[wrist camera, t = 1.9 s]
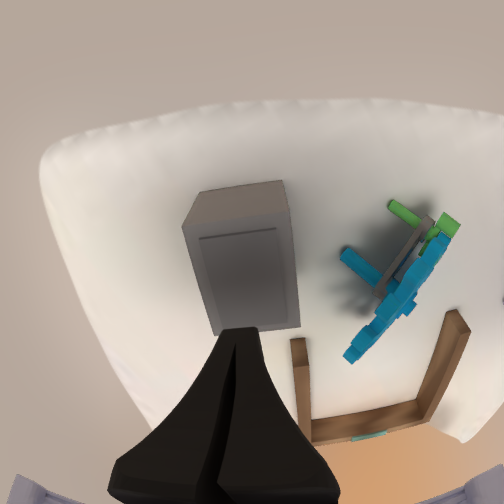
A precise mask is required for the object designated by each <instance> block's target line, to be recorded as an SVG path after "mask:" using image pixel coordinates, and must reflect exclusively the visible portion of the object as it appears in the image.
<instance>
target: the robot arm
mask: <svg viewBox="0 0 504 504" xmlns="http://www.w3.org/2000/svg"><path fill="white" fill-rule="evenodd" d="M503 304H504V303H503ZM107 491H108V492H109V494H110V495H111V496H112V497H114V498H115V499H117V500H119V501H121V502H122V503H124V504H338V498H339V496H340V487H339V485H338V482H337V480H336V479H335V476H334V475H333V473H332V471H331V470H330V468H329V467H328V465H327V462H326V461H325V460H324V458H323V457H322V456H321V455H320V454H319V453H318V452H317V450H316V449H315V448H314V447H313V446H312V444H311V443H310V442H309V441H308V439H307V438H306V437H305V435H304V434H303V433H302V431H301V430H300V428H299V427H298V425H297V424H296V423H295V421H294V420H293V418H292V417H291V415H290V414H289V412H288V410H287V409H286V407H285V405H284V404H283V402H282V400H281V398H280V396H279V394H278V392H277V390H276V388H275V386H274V384H273V382H272V380H271V378H270V375H269V373H268V371H267V368H266V365H265V362H264V356H263V352H262V347H261V342H260V337H259V332H258V328H256V327H255V326H253V327H243V328H232V329H223V330H222V331H221V333H220V335H219V337H218V340H217V342H216V344H215V346H214V348H213V350H212V352H211V354H210V356H209V357H208V359H207V361H206V363H205V364H204V366H203V368H202V370H201V371H200V373H199V375H198V376H197V378H196V379H195V381H194V382H193V384H192V385H191V387H190V388H189V390H188V391H187V393H186V394H185V395H184V397H183V398H182V399H181V401H180V402H179V403H178V404H177V406H176V407H175V408H174V409H173V410H172V412H171V413H170V414H169V415H168V416H167V417H166V418H165V419H164V420H163V421H162V422H161V423H160V425H159V426H158V427H156V428H155V429H154V430H153V431H152V432H151V433H150V434H149V435H148V436H147V437H145V438H144V439H143V440H142V441H141V442H140V443H139V444H137V445H136V446H135V447H133V448H132V449H131V450H129V451H128V452H127V453H125V454H124V455H123V456H121V457H120V458H118V459H117V460H116V463H115V465H114V467H113V470H112V473H111V477H110V481H109V486H108V489H107ZM7 504H84V503H81V502H78V501H75V500H72V499H69V498H66V497H64V496H61V495H58V494H56V493H53V492H50V491H48V490H46V489H45V488H44V487H43V486H41V485H39V484H38V483H36V482H34V481H32V480H30V479H28V478H25V477H23V476H21V475H19V474H17V475H16V477H15V480H14V483H13V486H12V489H11V491H10V495H9V498H8V501H7ZM417 504H504V467H503V465H502V464H499V465H497V466H495V467H493V468H491V469H489V470H487V471H485V472H483V473H481V474H479V475H477V476H476V477H474V478H472V479H470V480H469V481H468V482H467V483H465V485H464V486H461V487H459V488H457V489H454V490H452V491H450V492H447V493H445V494H442V495H439V496H436V497H434V498H431V499H428V500H425V501H423V502H419V503H417Z"/></svg>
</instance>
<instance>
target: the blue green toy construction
mask: <svg viewBox="0 0 504 504" xmlns="http://www.w3.org/2000/svg"><path fill="white" fill-rule="evenodd" d="M388 209H389V210H390V211H391V212H393V213H394V214H396V215H397V216H398V217H400V218H401V219H403V220H404V221H405V222H407V223H408V224H409V225H411V226H412V227H413V228H415V231H414V232H413V234H412V235H411V237H410V238H409V240H408V241H407V243H406V244H405V246H404V247H403V249H402V250H401V252H400V253H399V254H398V256H397V257H396V259H395V260H394V261H393V263H392V264H391V266H390V267H389V268H388V270H387V271H386V272H385V274H384V275H382V274H381V273H380V272H379V271H377V270H376V269H375V268H374V267H373V266H371V265H370V264H369V263H368V262H366V261H365V260H364V259H363V258H361V257H360V256H359V255H358V254H357V253H355V252H354V251H353V250H352V249H350V248H347V249H346V250H345V251H344V252H343V254H342V255H341V257H340V260H341V261H342V262H343V263H345V264H346V265H347V266H348V267H350V268H351V269H352V270H353V271H354V272H356V273H357V274H358V275H359V276H360V277H361V278H363V279H364V280H365V281H366V282H367V283H369V284H370V285H371V286H372V287H373V288H374V289H373V291H372V293H373V294H374V295H375V296H376V297H378V298H379V299H380V300H381V301H382V303H381V305H380V306H379V307H378V308H377V309H376V311H375V312H374V313H375V314H376V315H377V316H376V317H375V318H374V320H373V321H372V322H371V323H370V324H369V325H368V326H367V325H366V326H364V327H363V328H362V329H361V331H360V332H359V333H358V334H357V335H356V337H355V338H354V339H353V340H352V342H351V344H352V345H351V346H350V347H349V348H348V349H347V350H346V352H345V353H344V354H343V357H344V358H345V359H346V360H347V361H348V362H350V363H351V364H353V363H354V362H355V361H356V360H359V359H360V358H361V356H362V355H363V354H364V353H365V352H366V351H367V350H368V349H369V348H370V347H371V346H372V345H373V344H374V343H375V342H376V341H377V340H378V339H379V338H380V336H381V335H382V334H383V333H384V331H385V330H386V329H388V328H389V326H390V325H391V324H392V323H393V322H394V321H395V319H396V318H397V319H398V318H399V317H400V316H401V314H402V313H403V314H405V315H406V316H408V315H409V314H410V313H411V311H412V310H413V309H414V308H415V306H416V305H417V304H416V303H415V302H414V301H413V299H414V298H415V297H416V295H417V290H418V289H419V288H420V286H421V285H422V284H423V282H425V281H426V279H427V278H428V276H429V275H430V274H431V272H432V271H433V269H434V266H435V265H436V264H437V263H438V261H439V260H440V258H441V257H442V255H443V254H444V252H445V251H446V249H447V246H448V245H449V243H450V241H451V238H453V236H454V235H455V233H456V232H457V230H458V229H459V227H460V225H461V224H459V223H458V222H457V221H455V220H454V219H453V218H451V217H450V216H449V215H447V214H446V213H445V212H443V214H442V215H441V217H440V218H439V220H438V221H437V223H436V226H435V227H434V225H435V222H436V221H434V220H433V219H432V218H430V217H429V216H428V215H426V216H425V217H424V218H423V219H422V220H421V219H420V218H419V217H417V216H416V215H415V214H413V213H412V212H410V211H409V210H408V209H406V208H405V207H403V206H402V205H401V204H399V203H398V202H396V201H395V200H393V201H392V202H391V203H390V205H389V207H388ZM440 231H441V232H440ZM442 231H443V232H444V233H445V234H444V233H443V232H442ZM439 233H440V234H439ZM447 235H448V236H449V237H450V238H449V237H448V236H447ZM424 240H427V241H426V243H425V244H424V246H423V247H422V249H421V250H420V252H419V253H418V255H419V256H420V257H421V258H419V257H418V258H417V259H416V260H415V261H414V263H413V264H412V265H411V266H410V267H409V269H408V270H407V272H406V273H405V275H404V277H403V279H402V281H401V283H399V282H398V281H397V280H396V279H395V278H393V277H394V276H395V275H396V273H397V272H398V271H399V269H400V268H401V266H402V265H403V264H404V262H405V261H406V259H407V258H408V257H409V255H410V254H411V252H412V251H413V249H414V248H415V247H416V245H417V244H418V242H419V241H420V242H421V243H422V242H423V241H424Z"/></svg>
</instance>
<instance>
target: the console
mask: <svg viewBox="0 0 504 504" xmlns="http://www.w3.org/2000/svg"><path fill="white" fill-rule="evenodd" d="M182 230H183V233H184V237H185V241H186V244H187V248H188V251H189V255H190V258H191V262H192V265H193V269H194V272H195V276H196V279H197V282H198V286H199V289H200V292H201V296H202V299H203V302H204V305H205V309H206V312H207V315H208V318H209V321H210V324H211V327H212V331H213V334H214V336H219V335H220V333H221V331H222V330H223V329H232V328H243V327H253V326H255V327H256V328H258V332H263V331H273V330H281V329H290V328H298V327H301V323H300V311H299V299H298V288H297V277H296V267H295V257H294V247H293V238H292V228H291V219H290V211H289V207H288V203H287V199H286V195H285V191H284V187H283V183H282V180H279V181H271V182H264V183H257V184H250V185H243V186H236V187H229V188H223V189H217V190H211V191H205V192H200V193H199V195H198V196H197V198H196V200H195V202H194V204H193V206H192V208H191V210H190V211H189V213H188V215H187V217H186V219H185V221H184V223H183V225H182Z"/></svg>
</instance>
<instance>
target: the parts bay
mask: <svg viewBox="0 0 504 504" xmlns="http://www.w3.org/2000/svg"><path fill="white" fill-rule="evenodd" d="M470 334H471V330H470V328H469V327H468V325H467V324H466V322H465V321H464V319H463V318H462V316H461V315H460V313H459V312H458V310H457V309H456V310H452V311H448V312H446V315H445V318H444V322H443V325H442V329H441V332H440V335H439V338H438V341H437V344H436V347H435V350H434V353H433V356H432V359H431V362H430V365H429V367H428V370H427V373H426V375H425V378H424V380H423V383H422V386H421V388H420V390H419V393H418V395H417V398H416V400H412V401H408V402H405V403H401V404H397V405H393V406H388V407H384V408H379V409H375V410H370V411H365V412H360V413H355V414H349V415H344V416H338V417H331V418H325V419H318V420H311V403H310V375H309V362H308V355H307V348H306V341H305V338H299V339H291V340H290V342H291V352H292V362H293V372H294V382H295V392H296V403H297V413H298V424H299V428H300V430H301V431H302V433H303V434H304V435H305V437H306V438H307V439H308V441H309V442H310V443H311V444H312V446H313V447H314V446H321V445H329V444H335V443H341V442H347V441H352V442H353V441H358V440H363V439H368V438H373V437H377V436H382V435H385V434H386V433H389V432H393V431H397V430H401V429H405V428H409V427H412V426H416V425H419V424H423V423H426V422H429V421H430V419H431V417H432V415H433V413H434V412H435V410H436V408H437V406H438V404H439V402H440V400H441V398H442V397H443V395H444V393H445V391H446V389H447V387H448V384H449V382H450V380H451V378H452V376H453V374H454V372H455V370H456V367H457V365H458V363H459V361H460V358H461V356H462V354H463V351H464V349H465V346H466V344H467V341H468V339H469V336H470Z"/></svg>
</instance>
